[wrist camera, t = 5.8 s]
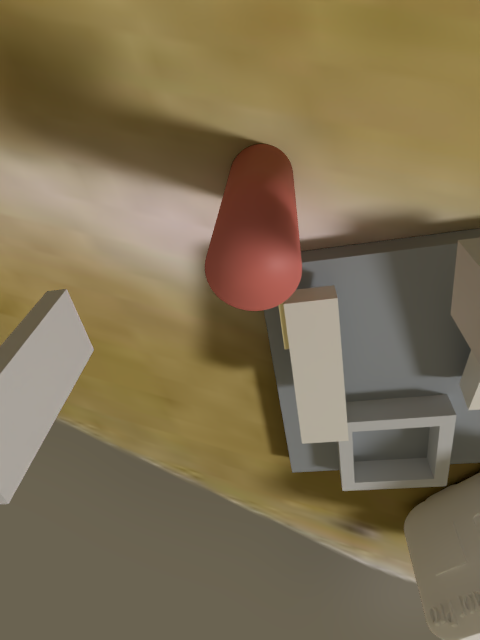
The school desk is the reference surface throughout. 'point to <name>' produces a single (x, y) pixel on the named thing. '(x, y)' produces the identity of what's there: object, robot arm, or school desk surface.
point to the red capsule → (256, 233)
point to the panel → (389, 365)
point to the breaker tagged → (316, 362)
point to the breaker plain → (471, 383)
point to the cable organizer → (448, 559)
